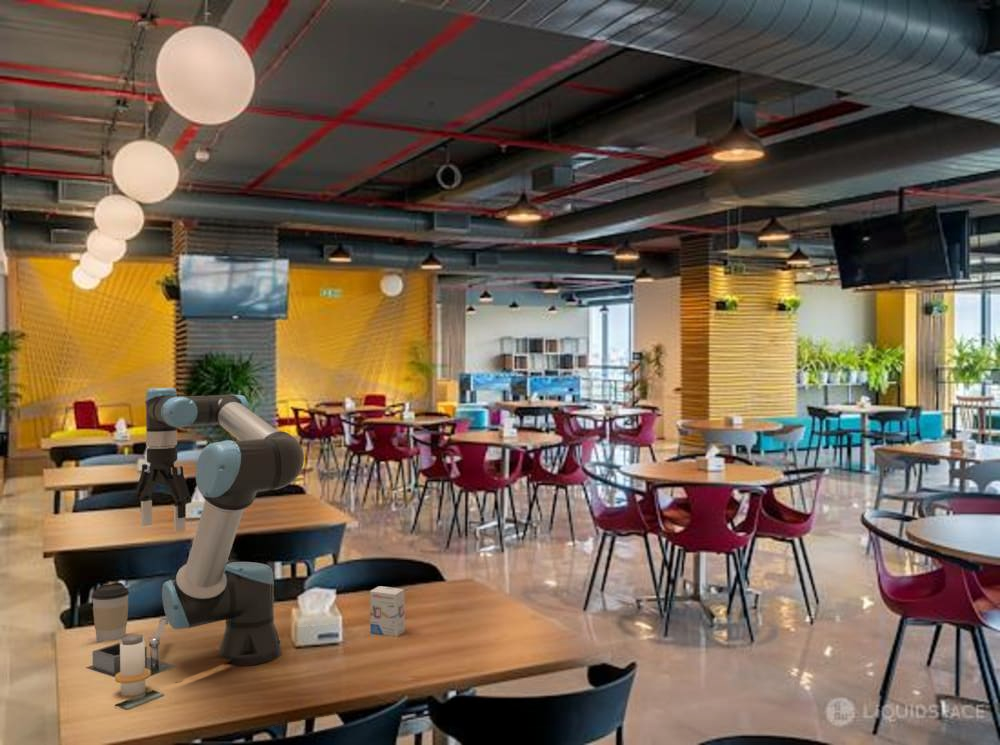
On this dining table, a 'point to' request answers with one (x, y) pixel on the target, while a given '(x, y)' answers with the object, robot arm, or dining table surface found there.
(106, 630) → the coffee cup
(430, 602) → the dining table surface
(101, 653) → the grey open box fixture
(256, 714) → the dining table surface
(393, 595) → the ink box
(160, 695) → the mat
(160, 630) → the grey metal lever
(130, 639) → the plug
